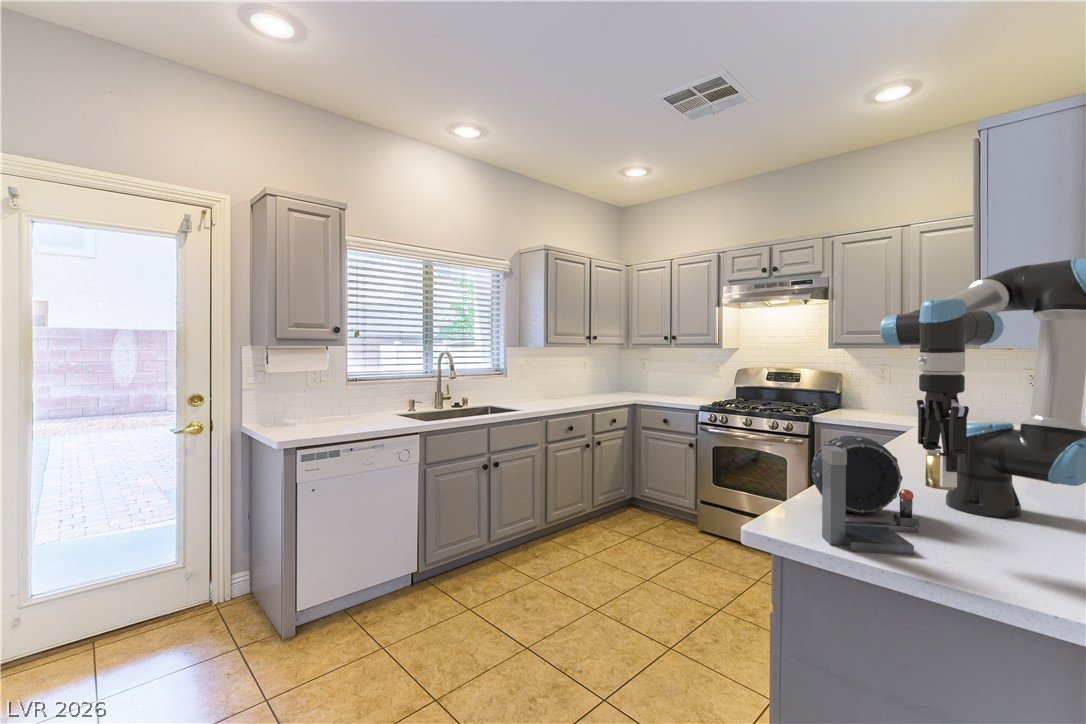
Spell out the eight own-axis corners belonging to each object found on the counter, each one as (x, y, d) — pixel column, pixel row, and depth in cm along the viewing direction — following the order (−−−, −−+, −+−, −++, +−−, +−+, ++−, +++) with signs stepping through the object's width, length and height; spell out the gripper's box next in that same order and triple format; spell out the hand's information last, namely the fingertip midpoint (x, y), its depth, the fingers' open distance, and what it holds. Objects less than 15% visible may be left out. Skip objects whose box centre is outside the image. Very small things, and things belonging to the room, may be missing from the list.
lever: (911, 521, 120) (912, 488, 120) (918, 526, 117) (919, 491, 117) (893, 521, 121) (893, 487, 121) (899, 525, 118) (900, 490, 118)
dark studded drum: (907, 520, 126) (907, 441, 125) (820, 515, 130) (820, 438, 129) (886, 506, 136) (887, 433, 136) (807, 503, 140) (807, 432, 140)
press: (912, 528, 120) (913, 441, 119) (956, 557, 104) (958, 456, 103) (808, 523, 124) (809, 439, 123) (835, 550, 108) (836, 453, 107)
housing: (945, 484, 108) (945, 451, 108) (959, 490, 103) (960, 456, 103) (920, 483, 109) (921, 451, 109) (933, 489, 104) (934, 456, 104)
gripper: (899, 371, 115) (898, 472, 115) (948, 375, 97) (946, 494, 98) (935, 371, 114) (934, 473, 114) (992, 375, 96) (990, 496, 97)
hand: (940, 482), depth 106 cm, fingers closed on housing, 5 cm apart
